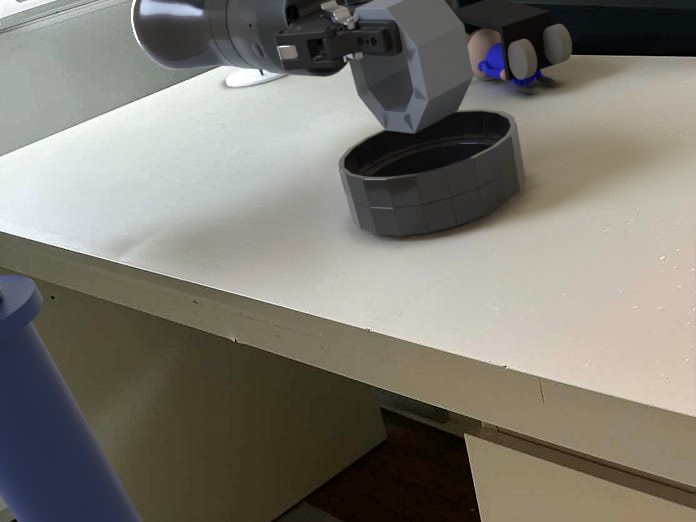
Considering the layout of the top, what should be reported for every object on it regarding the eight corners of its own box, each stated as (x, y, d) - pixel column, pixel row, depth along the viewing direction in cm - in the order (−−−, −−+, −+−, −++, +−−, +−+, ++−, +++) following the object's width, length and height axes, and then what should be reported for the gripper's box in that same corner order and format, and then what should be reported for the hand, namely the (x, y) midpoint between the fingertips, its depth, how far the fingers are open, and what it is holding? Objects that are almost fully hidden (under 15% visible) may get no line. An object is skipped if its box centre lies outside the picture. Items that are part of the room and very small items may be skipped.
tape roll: (365, 128, 78) (334, 8, 72) (408, 106, 80) (381, -13, 74) (436, 136, 73) (408, 7, 67) (480, 112, 75) (457, -15, 69)
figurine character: (580, 96, 100) (500, 63, 108) (576, 14, 94) (492, -13, 103) (528, 117, 98) (452, 83, 107) (521, 35, 92) (441, 6, 101)
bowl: (386, 259, 75) (369, 195, 71) (335, 209, 85) (318, 151, 82) (555, 197, 77) (546, 132, 73) (485, 156, 88) (474, 97, 84)
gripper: (206, -1, 75) (338, -3, 65) (340, -54, 81) (480, -64, 71) (241, 102, 80) (368, 114, 70) (364, 45, 86) (498, 49, 76)
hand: (423, 25), depth 70 cm, fingers closed on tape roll, 5 cm apart
